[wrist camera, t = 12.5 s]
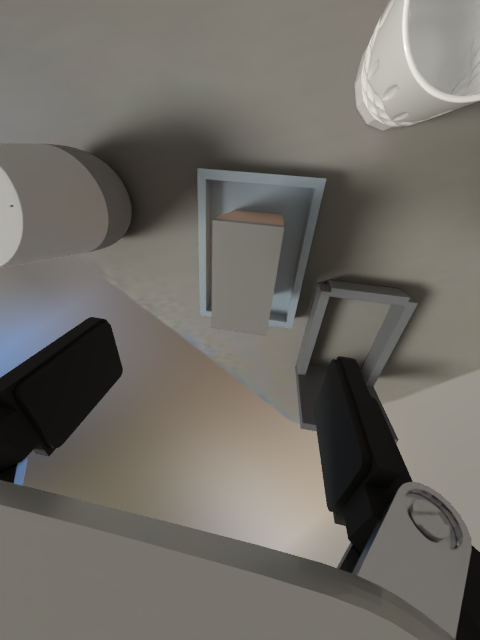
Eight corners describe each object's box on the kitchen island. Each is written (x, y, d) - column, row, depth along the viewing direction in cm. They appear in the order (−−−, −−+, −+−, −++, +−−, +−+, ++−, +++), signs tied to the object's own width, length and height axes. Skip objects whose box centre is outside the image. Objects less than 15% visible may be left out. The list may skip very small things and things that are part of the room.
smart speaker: (125, 145, 23) (-47, 97, 11) (151, 240, 27) (50, 280, 15) (47, 157, 24) (-177, 127, 12) (83, 245, 29) (-55, 285, 17)
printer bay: (408, 289, 26) (473, 340, 17) (364, 378, 33) (394, 445, 24) (319, 278, 26) (338, 322, 18) (295, 367, 34) (300, 428, 25)
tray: (321, 179, 22) (326, 178, 20) (291, 318, 30) (291, 328, 28) (204, 170, 23) (197, 168, 21) (205, 306, 31) (200, 315, 29)
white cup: (368, -8, 16) (473, -236, 7) (487, -2, 15) (752, -243, 7) (333, 135, 20) (374, 95, 11) (426, 144, 19) (543, 109, 11)
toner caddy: (282, 214, 23) (284, 227, 15) (270, 294, 28) (266, 335, 20) (234, 209, 23) (212, 220, 16) (230, 289, 28) (211, 327, 20)
